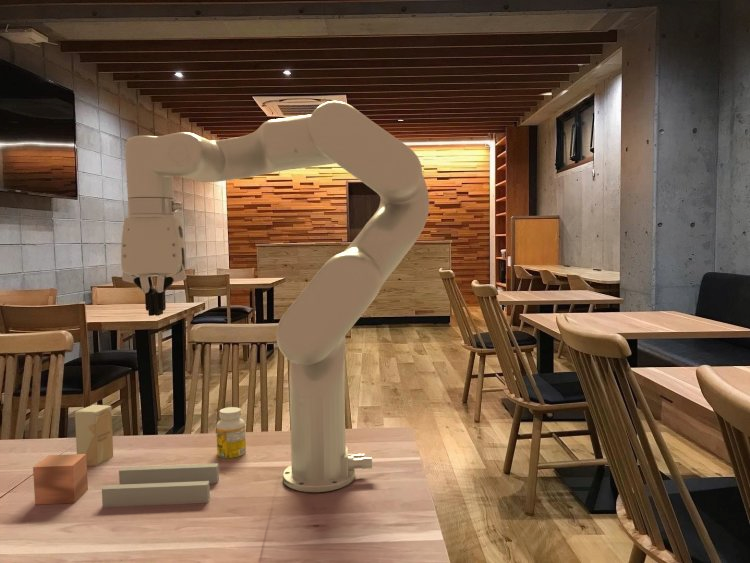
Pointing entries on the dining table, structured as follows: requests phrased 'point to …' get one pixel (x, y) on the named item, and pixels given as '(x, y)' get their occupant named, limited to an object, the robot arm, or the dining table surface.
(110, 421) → the box
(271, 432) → the dining table surface
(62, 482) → the block
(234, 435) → the supplement bottle
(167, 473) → the chute
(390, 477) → the dining table surface
